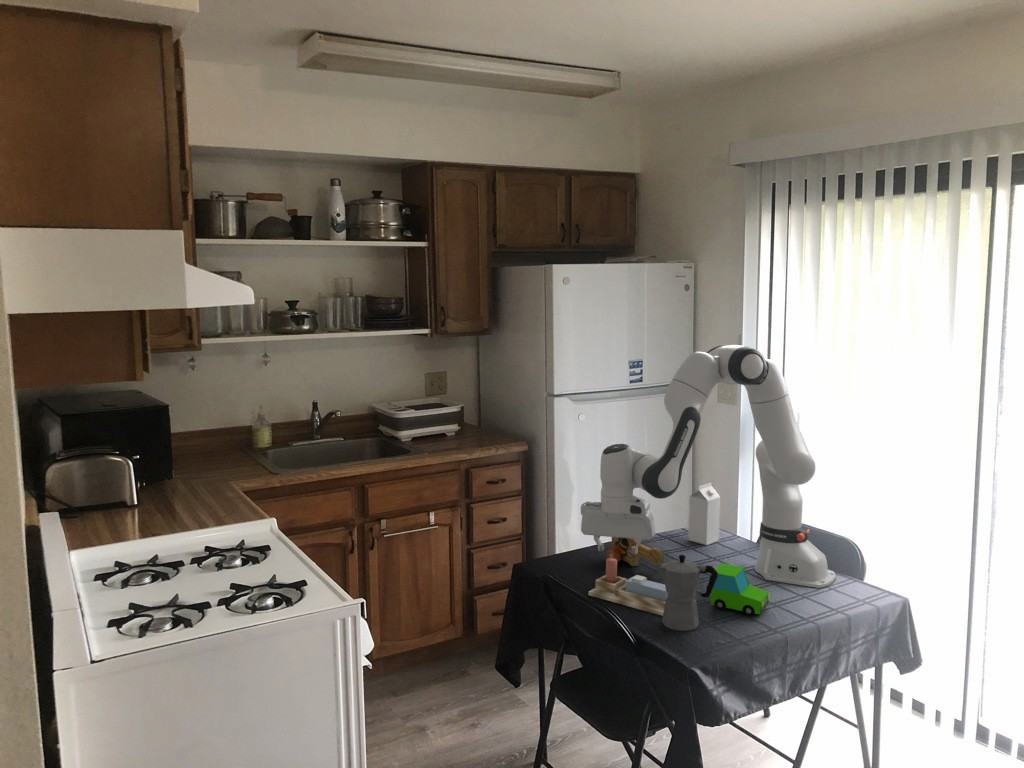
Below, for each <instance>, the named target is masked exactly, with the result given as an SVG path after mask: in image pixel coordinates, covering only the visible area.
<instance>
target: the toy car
mask: <svg viewBox="0 0 1024 768" xmlns="http://www.w3.org/2000/svg"><path fill="white" fill-rule="evenodd" d="M714 569H715V570H716V571H717V572H718V577H717V579H716V582H715V584H714V587H713V589H712V592H711V594H710V605H713V606H714V608H716V609H717V610H718V609H719V610H718V611H724V610H725V609H732V610H736V611H740V612H743V614H744V615H745V616H747V617H753V616H754V615H761V614H762V613H763V611H764V610H765V609H766V607H768V605H769V601H770V592H769V591H768V590H765V589H762V588H760V587H757V586H754V585H751V584H750V583H751V581H749V579H748V575H747V572H746V569H745V567H744V566H739V565H735V564H729V563H725V562H724V563H723V562H721V563H720V564H719V565H718V566H716V568H714Z"/></svg>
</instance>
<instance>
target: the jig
mask: <svg viewBox="0 0 1024 768" xmlns="http://www.w3.org/2000/svg"><path fill="white" fill-rule="evenodd" d="M626 580H628V579H627V578H626V577H621V576H618V575H617V582H616V583H614V584H613V583H609V582H606V574H605V575H603V576H600V577H599V578H596V579H595V587H594V588H593V589H591V590H589V591H588V596H590V597H595V598H597V599H601V600H605V601H609V602H612V603H615V604H619V605H623V606H625V607H626V606H627V607H629V608H633V609H636V610H639V611H640V610H641V611H644V612H648V613H651V614H655V615H658V616H662V617H663V613H664V608H665V603H666V602H664V601H661V600H657V599H653V598H649V597H646V596H642V595H638V594H634V593H631V592H627V591H625V584H626Z"/></svg>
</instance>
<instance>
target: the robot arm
mask: <svg viewBox="0 0 1024 768" xmlns="http://www.w3.org/2000/svg"><path fill="white" fill-rule="evenodd" d="M719 383H724V384H727V385H742V386H744V387H745V389H746V392H747V398H748V402H749V405H750V409H751V414H752V417H753V422H754V425H755V428H756V431H757V432H758V434H759V435H760V438H761V441H759V443H758V444H757V446H756V448H755V457H756V460H757V465H758V469H759V471H758V472H759V478H760V479H759V480H760V485H761V493H762V512H761V515H762V516H761V519H762V520H761V522H760V525H759V541H760V544H759V549H758V553H757V559H756V563H755V565H754V570H755V572H757V573H758V574H759V575H761V576H763V578H764V580H766V581H773V582H778V583H786V584H791V585H798V586H803V587H811V588H815V589H816V588H817V589H819V588H820V589H821V588H824V587H828V586H831V585H832V584H833V583H834V582H835V581H836V578H837V577H836V573H835V571H833V570H831V569H829V568H828V560H827V557H826V555H825V554H824V552H822V550H819V548H817V547H816V546H815V545H814V544H813V543H812V542H811V541H810V540H808V538H809V537H808V535H809V533H810V528H808V529H807V530H806V529H805V527H804V526H803V523H802V519H803V496H802V495H801V491H800V488H799V486H801V485H804V484H807V483H808V482H810V480H812V478H813V477H814V476H815V472H816V463H815V460H814V459H813V457H812V455H811V453H810V451H809V449H808V446H807V444H806V441H805V439H804V437H803V435H802V432H801V431H800V428H799V426H798V423H797V421H796V417H795V414H794V410H793V406H792V402H791V398H790V393H789V390H788V387H787V383H786V380H785V378H784V375H783V372H782V370H781V369H780V367H779V364H778V363H777V362H776V361H775V360H774V359H770V358H769V359H768V358H765V357H764V355H763V354H762V353H761V352H760V350H757V348H754V347H753V346H744V345H739V344H730V345H718V346H715V347H712V348H711V349H709V350H708V351H706V352H704V351H694V352H692V353H690V354H689V355H688V356H687V357H686V359H684V361H683V362H682V364H681V365H680V367H679V368H678V369H677V370H676V372H675V373H674V376H673V377H672V380H671V381H670V383H669V385H668V386H667V389H666V391H665V393H664V397H663V404H664V407H665V410H666V411H667V413H668V415H669V416H670V417H671V421H672V426H673V427H672V431H671V434H670V435H669V438H668V441H667V443H666V445H665V448H664V450H663V453H662V454H661V455H660V456H659V457H657V456H655V455H652V454H650V453H647V452H642V451H640V450H639V451H638V450H637V449H634V448H632V447H631V446H630V445H629V444H626V443H625V444H624V443H615V444H611V445H609V446H607V447H606V448H604V449H603V450H602V453H601V457H600V469H599V470H600V472H599V473H600V475H599V477H600V481H601V490H600V502H599V501H585V502H584V503H582V504H581V505H580V515H581V523H580V531H581V533H582V534H583V535H584V536H593V541H594V542H595V544H596V546H597V551H598V552H604V551H605V545H606V544H605V543H602V541H601V539H600V538H601V537H610V538H612V537H619V538H631V539H635V542H637V544H636V546H632V548H631V550H632V552H631V553H632V554H637V553H638V546H639V544H640V543H641V542H642V541H643V540H644V541H646V540H647V541H651V540H652V539H653V538H654V536H655V533H656V531H655V521H654V520H655V519H654V515H653V513H652V512H651V511H650V508H651V502H650V501H648V500H646V499H643V498H641V497H638V496H635V495H634V490H635V489H638V488H639V489H640V490H643V491H645V492H646V493H648V495H650V496H652V497H654V498H655V499H659V500H660V499H666V498H669V497H671V496H672V495H674V494H675V492H676V491H677V490H678V489H679V486H680V485H681V482H682V481H681V479H682V474H683V469H684V465H685V463H686V461H687V458H688V455H689V453H690V451H691V449H692V446H693V443H694V440H695V439H696V436H697V434H698V431H699V428H700V426H701V425H700V424H701V420H702V419H701V418H702V417H701V416H702V413H703V409H704V407H705V405H706V403H707V401H708V399H709V397H710V395H711V393H712V392H713V389H714V387H716V385H717V384H719ZM641 544H642V543H641Z"/></svg>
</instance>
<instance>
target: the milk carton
mask: <svg viewBox="0 0 1024 768" xmlns="http://www.w3.org/2000/svg"><path fill="white" fill-rule="evenodd" d="M688 502H689V503H688V504H689V509H688V510H689V511H688V537H687V539H688V541H690V542H693V543H697V544H701V545H704V546H709V545H711V544H714V543H716V542H718V541H720V520H721V519H720V518H721V517H720V513H721V496H720V494H719V493H718V492H717V490H716V489H715V488H714V487H713V486H712V482H709V483H705V484H702V485H699V486H698V490H696V491H695V492H693V493H692V494H690V495H689V501H688Z"/></svg>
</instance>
